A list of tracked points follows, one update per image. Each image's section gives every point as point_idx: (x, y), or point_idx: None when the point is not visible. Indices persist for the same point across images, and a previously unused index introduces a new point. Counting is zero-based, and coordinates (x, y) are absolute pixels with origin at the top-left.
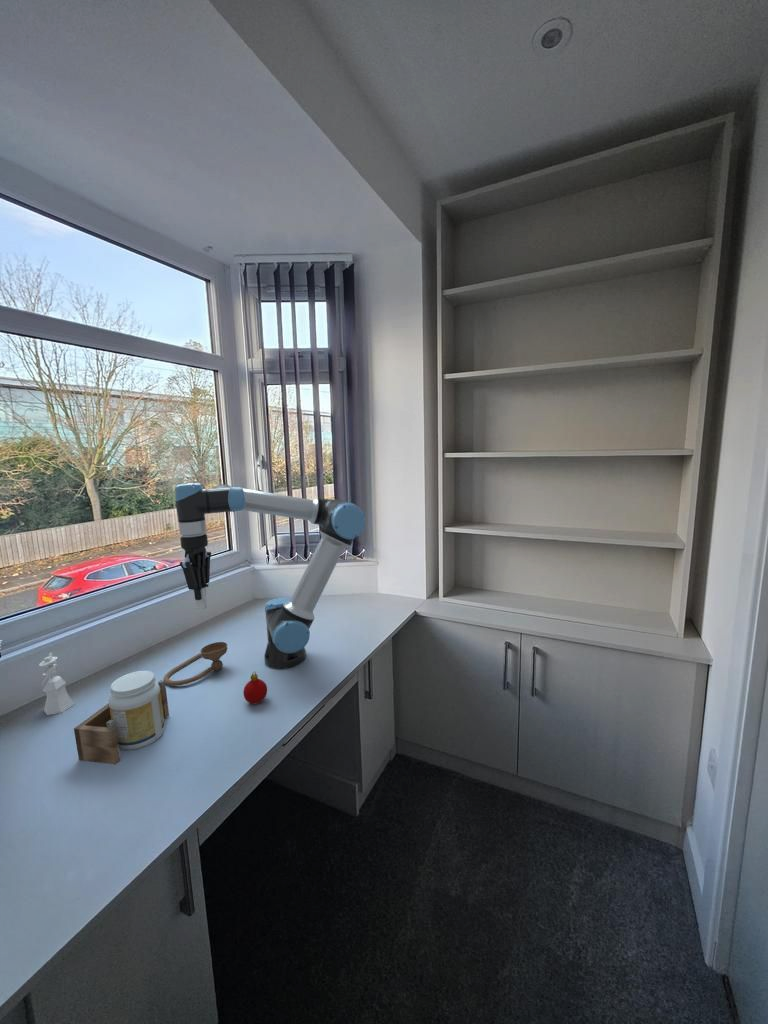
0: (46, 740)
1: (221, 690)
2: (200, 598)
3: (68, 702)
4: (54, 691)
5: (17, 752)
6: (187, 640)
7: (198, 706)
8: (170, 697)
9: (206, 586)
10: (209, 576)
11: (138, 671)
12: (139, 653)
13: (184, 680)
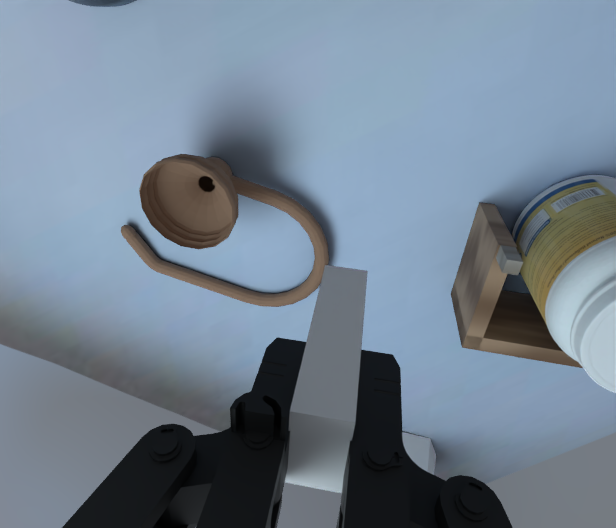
0: (534, 416)
1: (345, 95)
2: (375, 359)
3: (409, 444)
4: None
5: (566, 441)
6: (80, 333)
7: (438, 132)
8: (380, 243)
9: (284, 408)
10: (88, 498)
11: (585, 355)
12: (173, 409)
13: (319, 237)
